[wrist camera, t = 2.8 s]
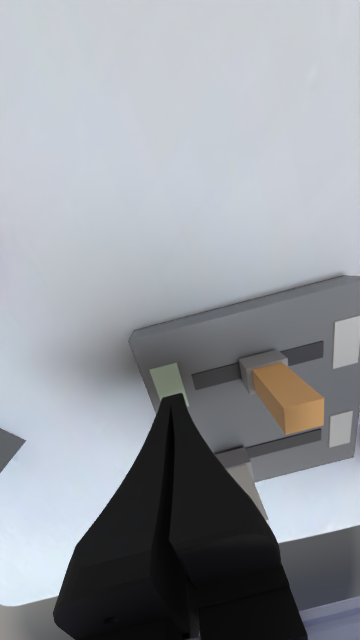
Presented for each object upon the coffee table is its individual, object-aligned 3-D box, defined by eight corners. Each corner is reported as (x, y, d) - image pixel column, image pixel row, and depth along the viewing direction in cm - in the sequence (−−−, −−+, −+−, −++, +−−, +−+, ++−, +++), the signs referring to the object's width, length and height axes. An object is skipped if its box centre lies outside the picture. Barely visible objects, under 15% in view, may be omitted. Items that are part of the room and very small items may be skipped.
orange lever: (276, 349, 12) (332, 392, 8) (278, 374, 13) (331, 426, 9) (238, 359, 12) (275, 407, 8) (242, 383, 13) (278, 439, 9)
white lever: (244, 447, 15) (274, 516, 11) (247, 463, 16) (276, 534, 12) (214, 455, 15) (232, 526, 11) (218, 470, 16) (236, 544, 12)
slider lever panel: (345, 275, 13) (376, 277, 11) (335, 437, 19) (354, 458, 17) (133, 330, 13) (128, 342, 11) (186, 475, 19) (188, 500, 17)
